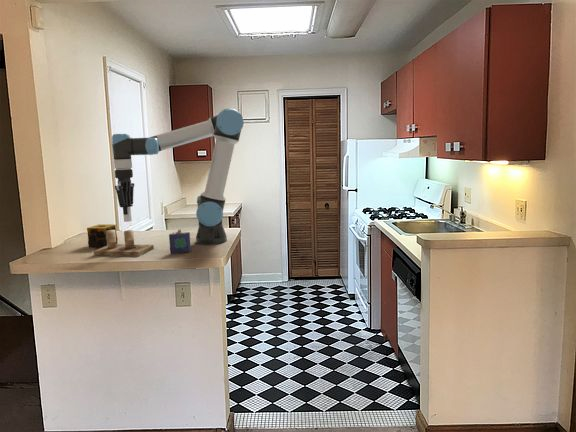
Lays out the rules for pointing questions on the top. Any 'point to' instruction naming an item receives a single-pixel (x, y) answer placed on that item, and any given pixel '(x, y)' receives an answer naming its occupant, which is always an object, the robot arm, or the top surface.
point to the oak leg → (129, 239)
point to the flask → (179, 242)
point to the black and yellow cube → (99, 235)
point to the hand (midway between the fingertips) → (127, 221)
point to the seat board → (121, 247)
